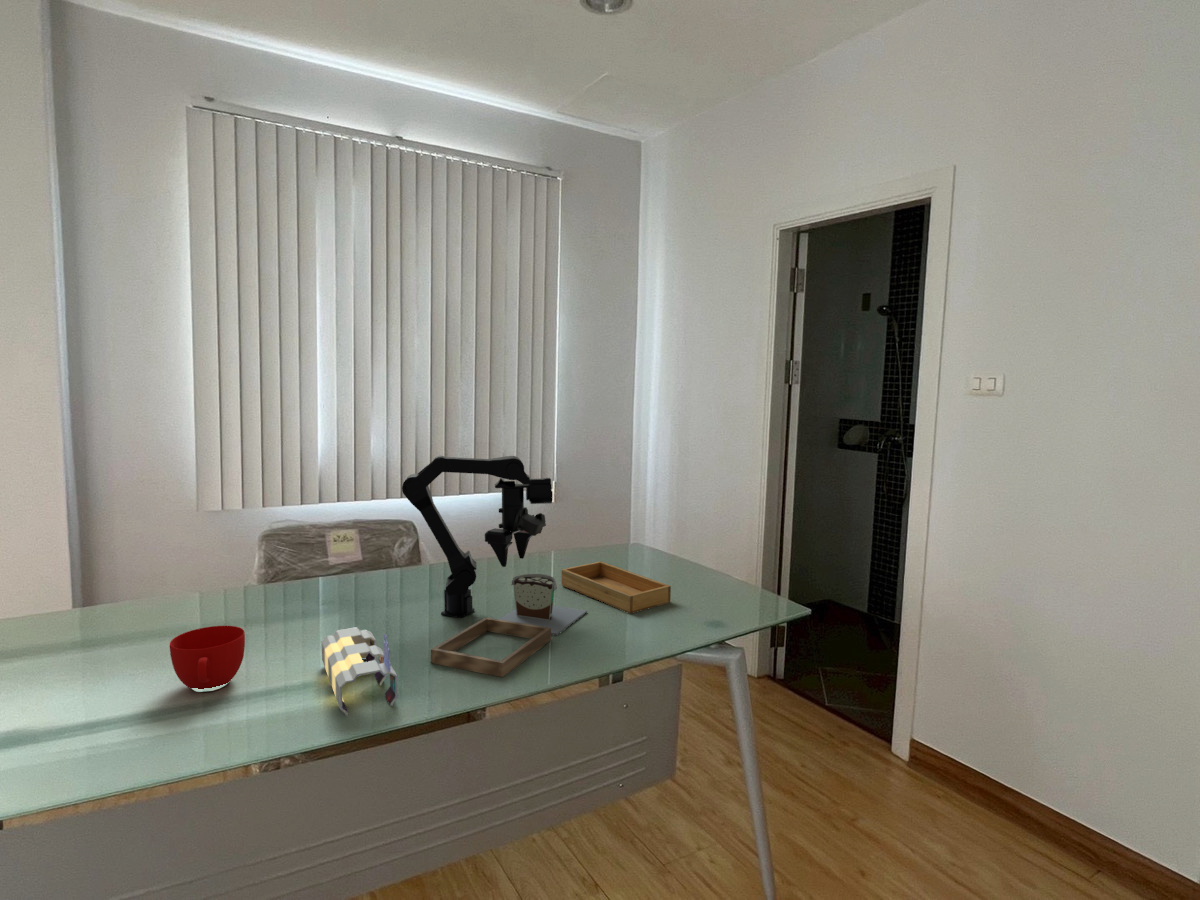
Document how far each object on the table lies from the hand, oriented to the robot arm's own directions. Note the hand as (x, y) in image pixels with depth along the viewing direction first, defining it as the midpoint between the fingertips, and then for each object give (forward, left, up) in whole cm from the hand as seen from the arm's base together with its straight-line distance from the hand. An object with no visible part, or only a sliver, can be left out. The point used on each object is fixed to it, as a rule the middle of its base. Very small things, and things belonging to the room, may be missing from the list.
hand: (513, 562), depth 181 cm
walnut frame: (+10, -26, -13) cm, 31 cm away
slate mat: (+10, -3, -13) cm, 17 cm away
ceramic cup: (-31, -65, -13) cm, 73 cm away
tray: (+20, +24, -14) cm, 34 cm away
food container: (+9, -2, -13) cm, 15 cm away
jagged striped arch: (-6, -51, -14) cm, 54 cm away
